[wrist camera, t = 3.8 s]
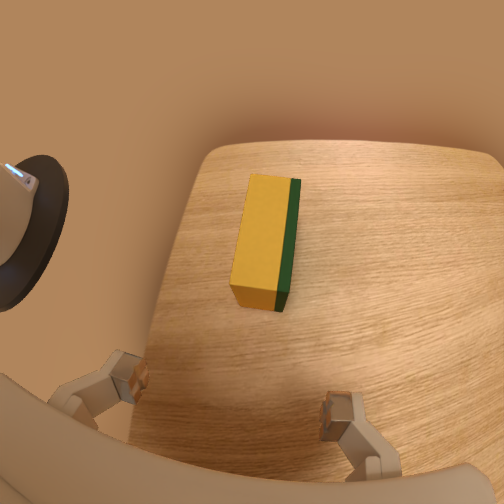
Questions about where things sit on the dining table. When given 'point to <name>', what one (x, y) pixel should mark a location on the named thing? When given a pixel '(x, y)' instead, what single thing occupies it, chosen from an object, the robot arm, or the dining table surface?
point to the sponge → (266, 243)
